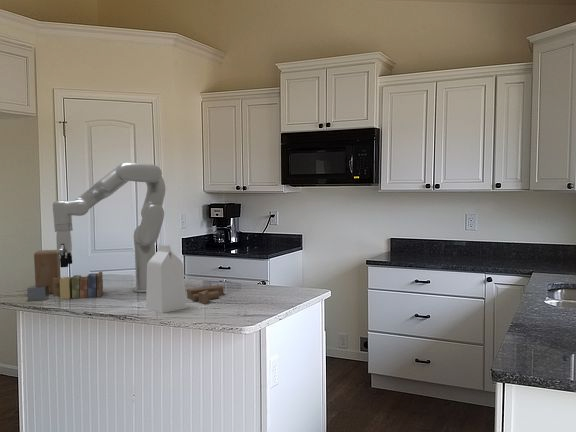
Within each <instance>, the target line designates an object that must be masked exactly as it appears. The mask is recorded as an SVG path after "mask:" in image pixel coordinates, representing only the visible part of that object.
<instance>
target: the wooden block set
mask: <svg viewBox="0 0 576 432" xmlns="http://www.w3.org/2000/svg"><path fill="white" fill-rule="evenodd" d="M223 295H224V285H223V284H219V285H214V286H213V285H212V286H201V287H191V288H188V289H187V290H186V300H187V299H188V300H190V301H191V302H195V303H196V302H198V303H199V304H202V305H205V306H206V304H208V302H210V300H215V299H220V297H221V296H223Z"/></svg>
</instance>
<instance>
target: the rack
mask: <svg viewBox="0 0 576 432" xmlns="http://www.w3.org/2000/svg"><path fill="white" fill-rule="evenodd" d="M71 277H72V297H71V298H72V299H75V300H76V299H91V297H94V298H101V296H102V294H104V284H103V283H104V281H103V278H104V277H103V271H99V272H98V273H97V272H95V273H89V274H87V276H82V275H81V274H80V275H79V274H77V275H76V274H75V275H73V276H71ZM61 278H62V277H60V278H53V294H52V295H53V297H54V296H55V297H56V296H60V279H61Z"/></svg>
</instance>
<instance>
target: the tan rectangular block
mask: <svg viewBox="0 0 576 432" xmlns="http://www.w3.org/2000/svg"><path fill="white" fill-rule="evenodd" d="M72 277H73V276H63V277H60V278H61V279H60V295H59V296H60V297H59V299H60V300H70V299H71V298H73V297H72Z"/></svg>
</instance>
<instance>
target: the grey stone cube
mask: <svg viewBox="0 0 576 432" xmlns="http://www.w3.org/2000/svg"><path fill="white" fill-rule="evenodd" d="M26 290H27V291H26V292H27V293H26V294H27V302H38V301H39V302H40V301H47V300H48V299H49V298H50V294H49V285H36V286H35V285H30V286H28V287H27V289H26Z"/></svg>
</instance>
